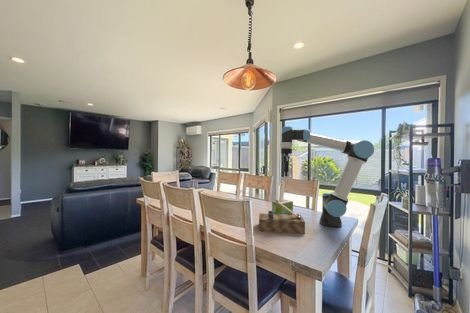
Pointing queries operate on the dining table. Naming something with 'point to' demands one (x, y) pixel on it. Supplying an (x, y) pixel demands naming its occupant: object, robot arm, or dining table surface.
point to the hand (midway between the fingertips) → (285, 180)
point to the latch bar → (286, 208)
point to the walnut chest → (281, 223)
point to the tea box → (281, 210)
